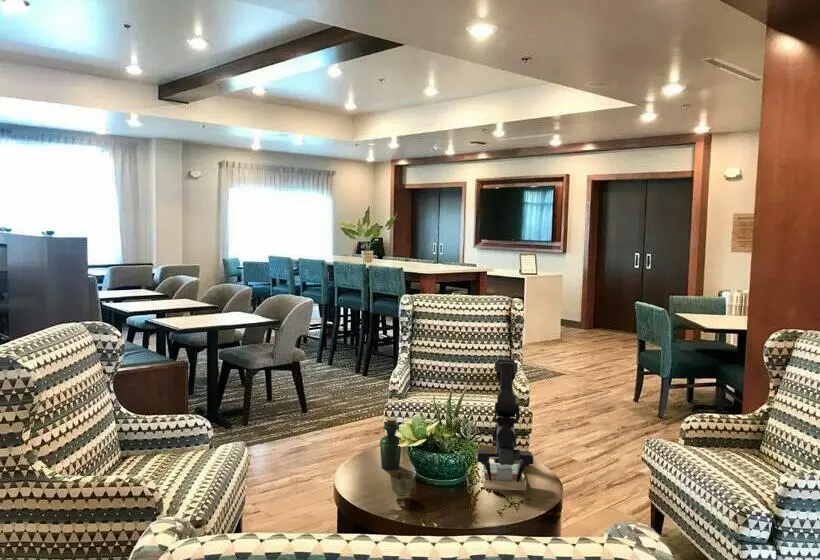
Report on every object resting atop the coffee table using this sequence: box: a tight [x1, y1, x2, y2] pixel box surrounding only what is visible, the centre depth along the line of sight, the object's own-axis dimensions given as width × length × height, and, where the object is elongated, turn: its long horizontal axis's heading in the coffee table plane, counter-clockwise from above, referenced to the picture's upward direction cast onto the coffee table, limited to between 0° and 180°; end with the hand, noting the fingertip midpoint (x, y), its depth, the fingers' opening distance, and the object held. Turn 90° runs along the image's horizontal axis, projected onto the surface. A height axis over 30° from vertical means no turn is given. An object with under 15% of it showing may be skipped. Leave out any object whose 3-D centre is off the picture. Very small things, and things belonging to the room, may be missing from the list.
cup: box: [389, 470, 414, 501], centre depth 204 cm, size 8×7×8 cm
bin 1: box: [480, 462, 524, 476], centre depth 225 cm, size 8×14×4 cm, turn 87°
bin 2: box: [481, 472, 528, 491], centre depth 216 cm, size 8×14×4 cm, turn 87°
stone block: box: [496, 464, 513, 482], centre depth 216 cm, size 5×5×6 cm
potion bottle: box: [379, 417, 402, 471], centre depth 232 cm, size 8×8×18 cm
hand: (503, 481), depth 216 cm, fingers open, 9 cm apart
